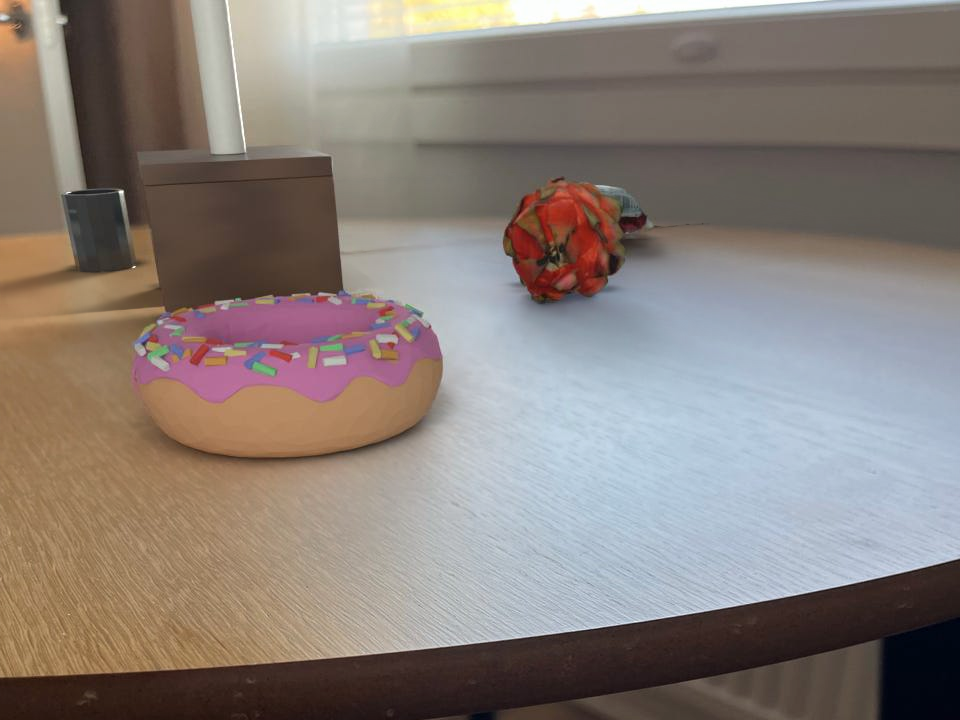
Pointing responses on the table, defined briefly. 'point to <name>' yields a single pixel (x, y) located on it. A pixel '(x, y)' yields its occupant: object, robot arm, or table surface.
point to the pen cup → (99, 230)
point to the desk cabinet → (241, 223)
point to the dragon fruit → (565, 240)
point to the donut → (288, 373)
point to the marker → (218, 76)
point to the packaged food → (627, 210)
